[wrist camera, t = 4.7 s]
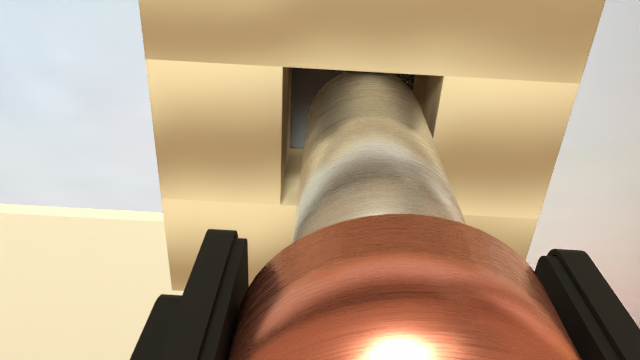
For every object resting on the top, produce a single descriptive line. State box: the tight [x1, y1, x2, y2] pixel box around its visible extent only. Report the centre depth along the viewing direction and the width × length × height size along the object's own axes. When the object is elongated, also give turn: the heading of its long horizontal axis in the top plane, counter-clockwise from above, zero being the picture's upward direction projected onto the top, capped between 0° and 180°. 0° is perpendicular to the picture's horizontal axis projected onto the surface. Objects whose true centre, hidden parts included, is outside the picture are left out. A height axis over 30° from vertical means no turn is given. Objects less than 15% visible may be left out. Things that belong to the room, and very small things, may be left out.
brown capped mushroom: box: [228, 71, 582, 360], centre depth 12 cm, size 6×6×13 cm
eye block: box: [139, 0, 605, 291], centre depth 20 cm, size 14×14×5 cm
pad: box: [0, 204, 184, 360], centre depth 28 cm, size 13×13×1 cm
